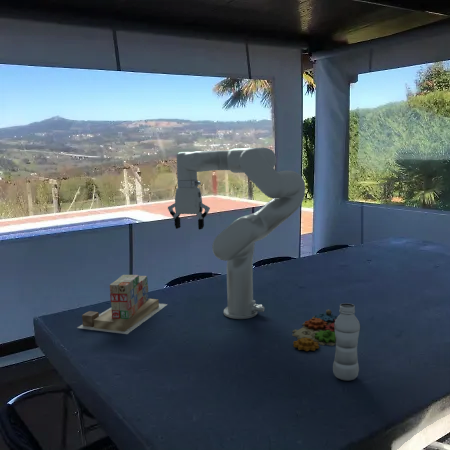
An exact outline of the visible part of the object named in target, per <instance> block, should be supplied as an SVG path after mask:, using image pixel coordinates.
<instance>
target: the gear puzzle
mask: <svg viewBox="0 0 450 450" xmlns="http://www.w3.org/2000/svg"><path fill="white" fill-rule="evenodd" d="M337 317H338V316H337V315H334V314H333V313H332V310H331V309H326V310H325V312H324V313H323V312H320V313H318V314H314V316H312V317H311V318H310V319H309V320H305V321H304V322H303V323H302V324H301V325H302V327H301V328H299V329H296V328H295V329H294V330H292V331H291V332H292V334H291V335H292V337H294V338H296V339H297V340H294V341H293V343H292V344H293V348H297V350H298V351H300V350H301V351H302V350H304V351H305V352H308V351H314V352H315V351H316V349H320V346H325V345H326V346H332V347H334V346H336V337H335V329H334V323H335V320H336V319H337Z"/></svg>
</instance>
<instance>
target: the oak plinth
mask: <svg viewBox="0 0 450 450" xmlns="http://www.w3.org/2000/svg"><path fill="white" fill-rule="evenodd" d="M159 304H160V301H159V298H158V299H156V298H149V299H148V300H147V301H146V302H145V303H144V304H143V305H142V306H141V307H140V308H139V309H138V310H137V311H136V312H135V313H134V314H133V315H132V316H131V317H130V318H129V319H115V318H112V311H111V310H112V309H111V310H109V311H107V312H106V313H104V314H102V315H101V316H99V317H97V318H96V319H94V328H99V329H107V330H115V331H123V332H125V331H126V330H127V329H129V328H130V327H132V326H133V325H134V324H136V323H137V322H139V321H140V320H141V319H143V318H144V317H146V316H147V315H148V314H150V313H151V312H153V311H154V310H155V309H157V308H158V307H159Z"/></svg>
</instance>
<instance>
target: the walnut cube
mask: <svg viewBox="0 0 450 450" xmlns="http://www.w3.org/2000/svg"><path fill="white" fill-rule="evenodd" d="M99 314H100V313H99V312H98V311H92V310H89V311H87V312H85V313H83V314H81V318H82V319H81V320H82V324H83V326H87V327H94V319H96V318H97V317H99Z"/></svg>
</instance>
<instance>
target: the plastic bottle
mask: <svg viewBox="0 0 450 450" xmlns="http://www.w3.org/2000/svg"><path fill="white" fill-rule="evenodd" d="M355 307H356V306H355V304H353V303H349V302H344V303H340V304H339V311H338V312H339V315H338V316H337V319H336V320H335V323H334V329H335V337H336V340H335V342H336V344H335V353H334V360H333V363H332V371H333V375H334V376H335V377H336V378H337V379H339V380H341V381H354V380H356V378H357V377H358V376H359V372H360V366H359V361H358V360H359V359H358V345H359V343H358V341H359V337H360V336H359V335H360V330H361V324H360V321H359V320H358V318H357V316H356V315H355V313H356V310H355V309H356V308H355Z"/></svg>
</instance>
